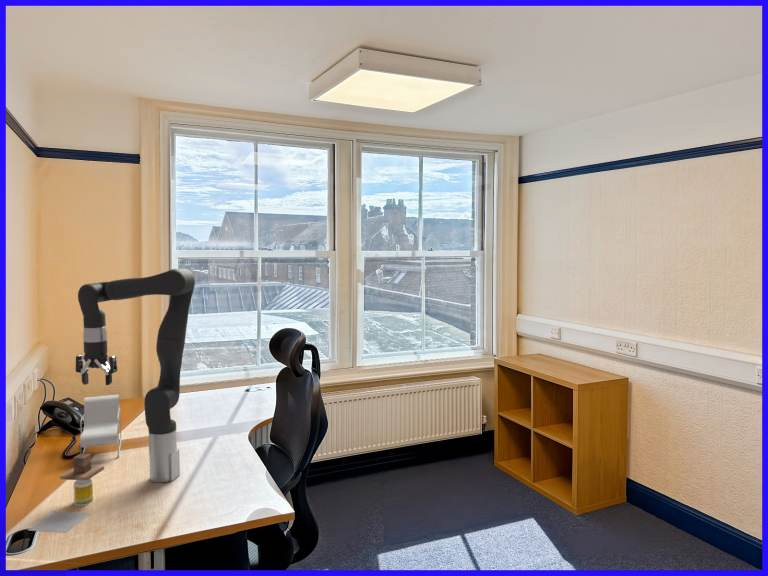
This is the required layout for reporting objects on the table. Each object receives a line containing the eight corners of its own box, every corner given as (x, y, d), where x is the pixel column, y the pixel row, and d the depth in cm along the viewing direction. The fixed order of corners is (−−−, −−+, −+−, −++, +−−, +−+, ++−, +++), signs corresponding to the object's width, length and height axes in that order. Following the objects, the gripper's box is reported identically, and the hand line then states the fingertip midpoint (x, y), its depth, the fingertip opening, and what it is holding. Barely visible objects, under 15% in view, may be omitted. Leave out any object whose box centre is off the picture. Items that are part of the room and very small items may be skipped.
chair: (121, 438, 249) (119, 393, 247) (118, 458, 226) (117, 409, 224) (86, 442, 244) (84, 396, 242) (80, 463, 221) (77, 413, 219)
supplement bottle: (71, 503, 188) (70, 474, 187) (89, 497, 192) (88, 469, 191) (78, 508, 184) (76, 479, 184) (95, 503, 188) (94, 474, 188)
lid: (104, 469, 191) (103, 451, 191) (87, 480, 183) (86, 462, 182) (78, 468, 192) (77, 450, 192) (60, 479, 184) (59, 460, 183)
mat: (91, 514, 181) (91, 513, 181) (66, 533, 169) (65, 532, 169) (54, 512, 182) (54, 511, 182) (27, 531, 170) (27, 530, 170)
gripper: (120, 338, 210) (121, 382, 211) (82, 337, 211) (84, 381, 212) (108, 341, 202) (109, 387, 204) (69, 340, 204) (71, 386, 205)
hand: (97, 384), depth 208 cm, fingers open, 8 cm apart
